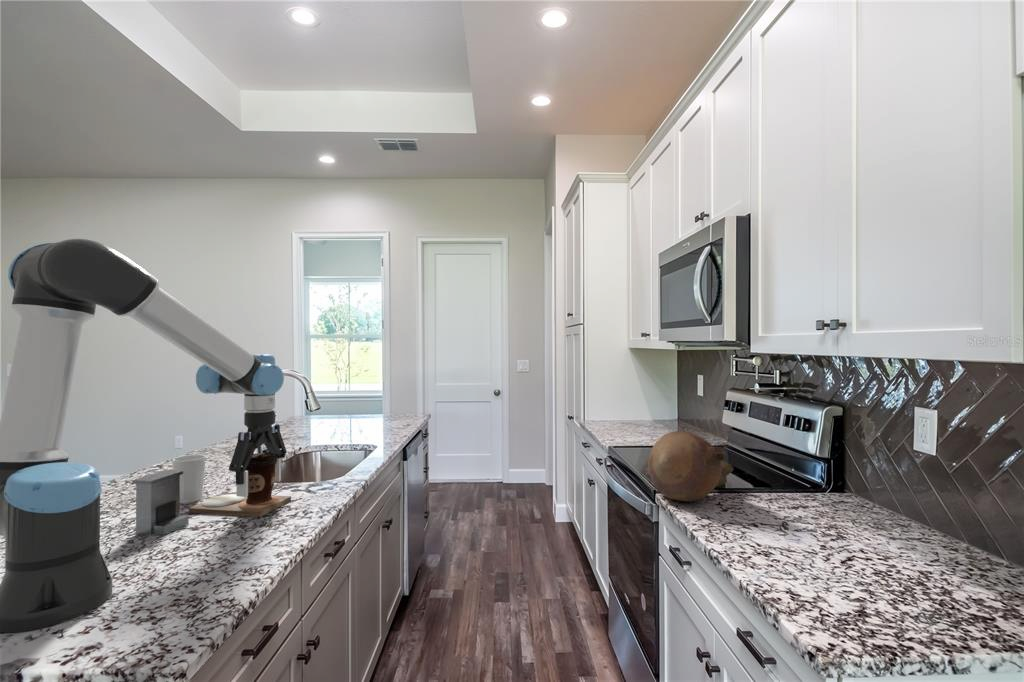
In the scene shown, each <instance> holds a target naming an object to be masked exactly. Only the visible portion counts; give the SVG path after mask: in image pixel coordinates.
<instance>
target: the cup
mask: <svg viewBox="0 0 1024 682" xmlns="http://www.w3.org/2000/svg"><path fill="white" fill-rule="evenodd" d="M206 457H207V456H206V455H205V454H188V455H181V456H177V457H174V458H173V459H172V469H173V471H183V474H182V475H180V504H189V503H194V502H197V501H200V500H202V499H203V490H204V479H205V470H206V469H205V468H206V460H207V459H206Z"/></svg>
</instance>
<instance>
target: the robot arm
mask: <svg viewBox="0 0 1024 682" xmlns="http://www.w3.org/2000/svg"><path fill="white" fill-rule="evenodd" d="M7 277H8V283H10V287H11V288H12V289H13V291H14V292H13V296H12V301H11V308H12V309H13V310H14V311H15V312H16V313H17V314H18V315H19V317H20V321H19V325H18V330H17V331H18V332H17V335H16V341H15V344H14V345H15V347H14V351H13V357H12V361H11V365H10V370H9V374H8V375H9V377H8V381H7V386H6V391H5V394H4V395H5V396H4V399H3V400H4V401H3V406H2V411H1V415H0V536H3V537H5V540H4V541H5V543H4V545H5V546H4V547H5V550H4V551H5V552H4V553H5V559H4V560H5V562H4V563H5V564H4V565H5V567H4V570H5V571H4V575H3V577H2V579H1V582H0V633H19V632H26V631H33V630H37V629H43V628H46V627H50V626H54V625H57V624H60V623H63V622H66V621H68V620H71V619H74V618H76V617H79V616H82V615H84V614H85V613H88V612H90V611H91V610H94V609H95V608H97V607H99V606H100V605H102V604H103V603H105V602H106V601H107V600H108V599H109V598H110V597H111V596H112V594H113V577H112V574H110V571H109V569H108V567H107V563H106V561H105V560H104V557H103V555H102V553H101V546H100V545H101V544H100V542H101V541H100V538H101V494H102V484H101V478H100V472H99V470H98V469H97V468H96V467H94V465H93V466H92V465H90V464H87V463H83V462H69V457H70V455H69V454H68V453H67V452H66V451H64V449H63V448H62V446H61V442H62V436H63V430H64V424H65V420H66V415H67V409H68V403H69V399H70V393H71V386H72V382H73V377H74V372H75V366H76V360H77V356H78V349H79V344H80V338H81V335H82V334H81V333H82V328H83V325H84V324H85V323H86V322H88V321H90V320H91V319H93V318H95V312H96V308H97V306H100V307H102V308H105V309H107V310H108V311H111V313H114V314H115V315H117V316H118V317H127V316H128V317H130V318H132V319H133V320H135V321H136V322H138V323H139V324H141V325H142V326H144V327H145V328H147V329H149V330H150V331H152V332H153V333H155V334H156V335H158V336H160V337H161V338H163V339H164V340H166V341H168V343H171V344H172V345H174V346H175V347H177V348H178V349H179V350H182V351H183V352H184V353H186V354H188V355H189V356H191V357H193V358H194V359H196V360H197V361H199V362H200V363H202V365H200V366H199V367H198V369H197V371H196V373H195V384H196V387H197V389H198V390H199V392H201V393H203V394H205V395H207V394H209V395H210V394H214V395H216V394H222V393H223V394H225V393H229V394H244V395H243V396H244V397H243V399H244V400H243V410H245V412H244V419H243V420H244V422H243V424H244V426H245V427H247V431H246V432H243V431H240V432H238V434H237V442H236V446H235V449H234V452H233V454H232V456H231V460H230V464H229V467H228V470H229V471H230V472H233V473H234V474H235V485H236V494H237V496H241V497H246V496H248V471H245V470H246V468H247V466H248V464H249V462H250V460H251V458H252V456H253V454H255V451H256V450H257V449H258V448H259V447H260V446H262V445H264V446H265V447H266V449H267V450H268V452H270V453H274V454H275V457H276V458H277V463H276V466H275V480H274V482H281V481H282V459H283V458H285V457H286V454H287V451H288V450H287V448H286V446H285V442H284V439H283V435H282V434H281V426H280V424H278V423H277V424H275V423H276V411H275V410H273V409H276V393H277V392H278V391H280V390H281V388H282V387H283V385H284V380H285V375H284V372H283V370H282V369H281V367H279V366H278V365H276V359H275V355H273V354H269V353H268V354H266V353H265V354H263V353H262V354H261V353H259V354H254V353H253V354H251V353H250V352H248V351H247V350H245V349H244V348H243V347H242V346H240V345H239V344H237V343H236V342H235V341H233V340H232V339H231V338H229V337H228V336H227V335H225V334H224V333H222V332H221V331H220V330H218V329H217V328H216V327H214V326H213V325H212V324H210V323H209V322H207V321H206V320H204V319H203V318H202V317H200V316H199V315H198V314H196V313H195V312H194V311H193V310H191V309H189V308H188V306H185V304H183V303H181V301H178V299H176V298H175V297H174V296H172V295H171V294H169V292H166V291H165V290H163V288H161V287H159V285H160V284H159V282H160V281H159V279H157V278H156V277H155V276H153V274H151V273H150V272H148V271H147V270H146V269H144V268H143V267H142V266H140V265H138V264H137V263H136V262H134V261H133V260H132V259H131V258H129V257H127V256H126V255H123V254H122V253H121V252H119V251H118V250H115V249H114V248H112V247H110V246H108V245H106V244H104V243H101V242H99V241H94V240H91V239H87V238H85V239H84V238H70V239H65V240H62V241H57V242H49V243H48V242H47V243H42V244H41V243H40V244H36V245H33V246H31V247H29V248H26V249H25V250H23V251H22V252H20V253H19V254H17V255H16V256H15V257H14V258H13V259H12V260H11V262H10V264H9V268H8V272H7Z"/></svg>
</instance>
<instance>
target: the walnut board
mask: <svg viewBox="0 0 1024 682" xmlns="http://www.w3.org/2000/svg"><path fill="white" fill-rule="evenodd" d="M271 497H272V499H273V500H272V501H271V502H269V503H265V504H258V505H250V504H247V503H246V500H247V496H246V497H241V496H237V493H234V492H233V493H232V492H224V493H221V494H219V495H215V496H213V497H209V498H207V499H204V500H203V502H199V503H198V504H194V505H193V506H190V507H188V510H187V511H188V513H189V514H205V515H223V516H239V517H241V516H242V517H257V518H261V517H263V516H266V515H267V514H269V513H271V512H272V511H274V510H276V509H278V508H280V507H282V506H283V505H286V504H287V503H289V502H291V501H292V496H291V495H290V496H289V495H273V494H271Z"/></svg>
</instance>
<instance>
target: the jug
mask: <svg viewBox="0 0 1024 682" xmlns="http://www.w3.org/2000/svg"><path fill="white" fill-rule="evenodd" d="M725 455H726V453H725V450H724V449H723V447H721V446H713V445H712V443H710V441H708V440H707V439H705V438H703V437H702V436H700V435H699V434H696V433H693V432H690V431H686V430H684V431H683V430H674V431H670V432H667V433H665V434H664V435H663V436H661V437H660V438H659V439H658V440H657V441H656V442H655V443H654V445H652V448H651V451H650V453H649V456H648V460H647V461H648V462H647V467H645V476H646V477H648V478H650V480H651V482H652V484H653V486H654V487H655V489H656V490H657V491H658V492H659V493H660V494H662V495H663V496H664V497H666V498H668V499H671V500H673V501H674V500H675V501H680V502H688V503H689V502H696V501H699V500H702V499H703V498H705V497H707V496H708V495H710V494H711V492H712V491H714V490H715V488H716V487H720V486H723V485H724V484H727V482H728V475H730V474H731V473H732V472H733V471H734V467H733V465H732V464H730V463H729V462H728V461H725V460H724V459H725V457H726V456H725Z"/></svg>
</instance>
